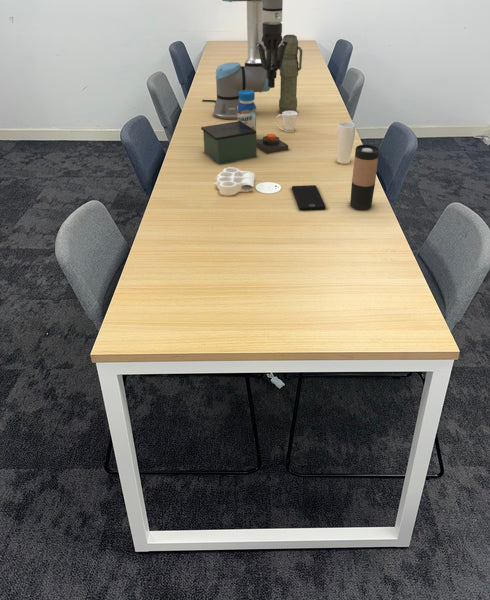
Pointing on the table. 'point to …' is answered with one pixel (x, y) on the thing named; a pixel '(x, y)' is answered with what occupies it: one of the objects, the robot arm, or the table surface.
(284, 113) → the cup
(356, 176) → the travel mug
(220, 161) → the green box
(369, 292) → the table surface
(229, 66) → the robot arm
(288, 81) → the thermos
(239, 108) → the beverage bottle
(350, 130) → the drinking glass
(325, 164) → the table surface
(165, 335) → the table surface
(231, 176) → the white holed block
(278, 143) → the control pad
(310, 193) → the cell phone
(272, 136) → the button
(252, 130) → the box lid
